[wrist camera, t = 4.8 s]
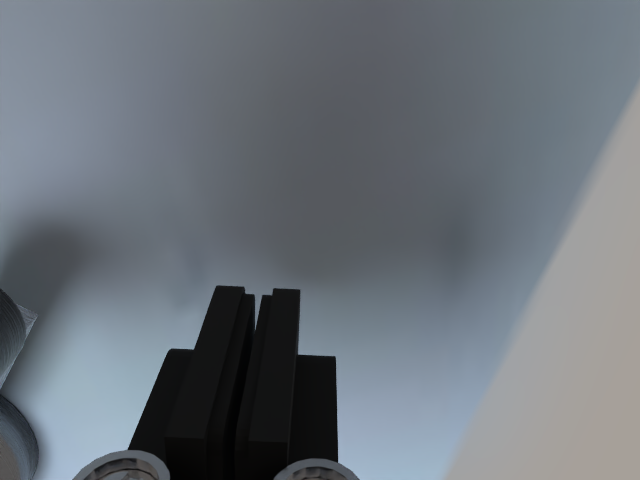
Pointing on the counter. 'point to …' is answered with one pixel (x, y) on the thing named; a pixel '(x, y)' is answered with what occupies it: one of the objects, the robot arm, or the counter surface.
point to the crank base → (16, 445)
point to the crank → (12, 332)
